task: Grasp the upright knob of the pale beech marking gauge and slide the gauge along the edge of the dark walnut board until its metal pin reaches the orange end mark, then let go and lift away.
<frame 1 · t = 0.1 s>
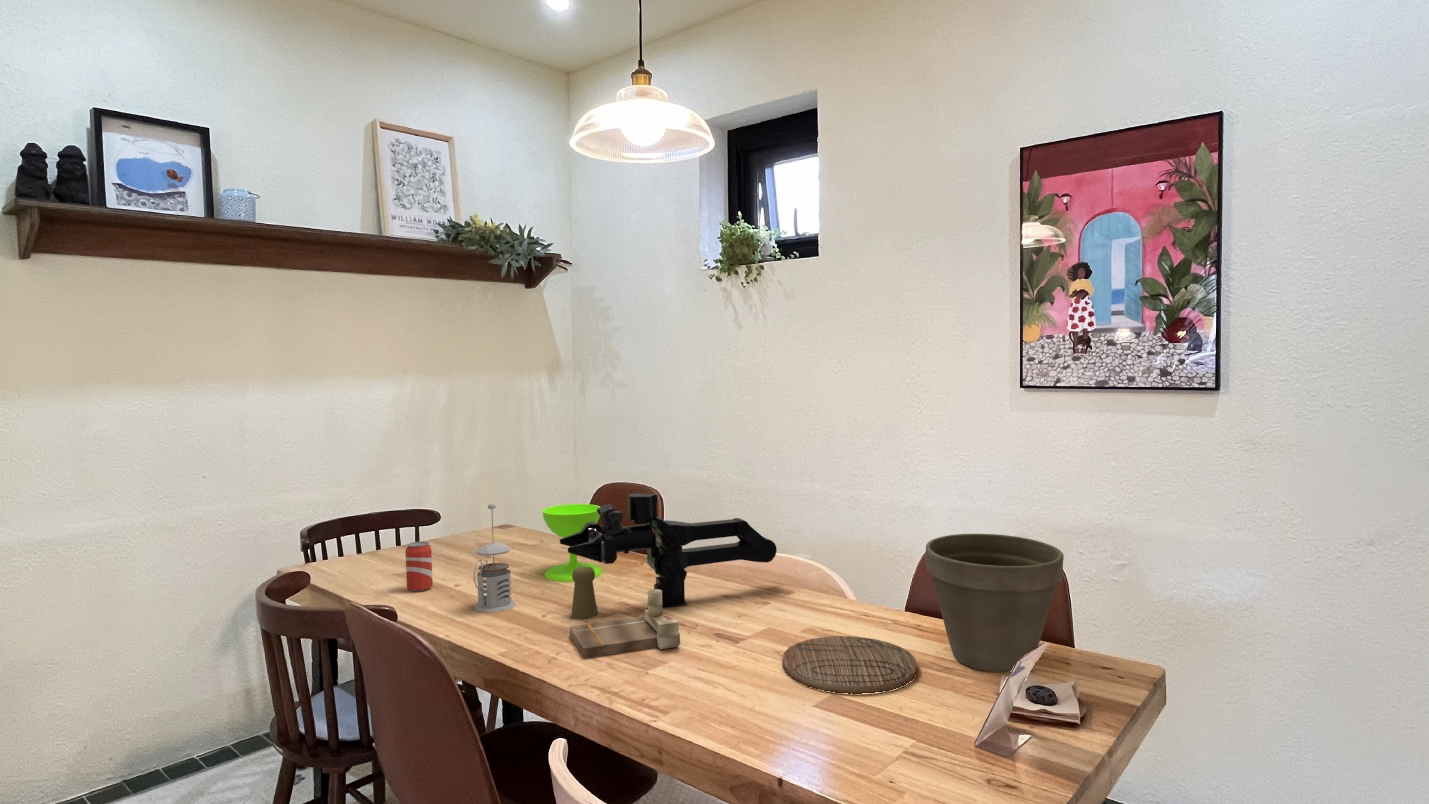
hand: (563, 545, 180), 17 cm above the table, tool horizontal, fingers open, 9 cm apart
wineglass: (573, 574, 218), on the table
trivet: (848, 670, 148), on the table
beverage can: (419, 589, 205), on the table
plant pot: (992, 660, 151), on the table
board: (623, 639, 165), on the table
french press: (492, 607, 189), on the table
cork: (584, 615, 182), on the table
gauge: (659, 616, 165), point 5 cm above the table, slide at 0.0 cm
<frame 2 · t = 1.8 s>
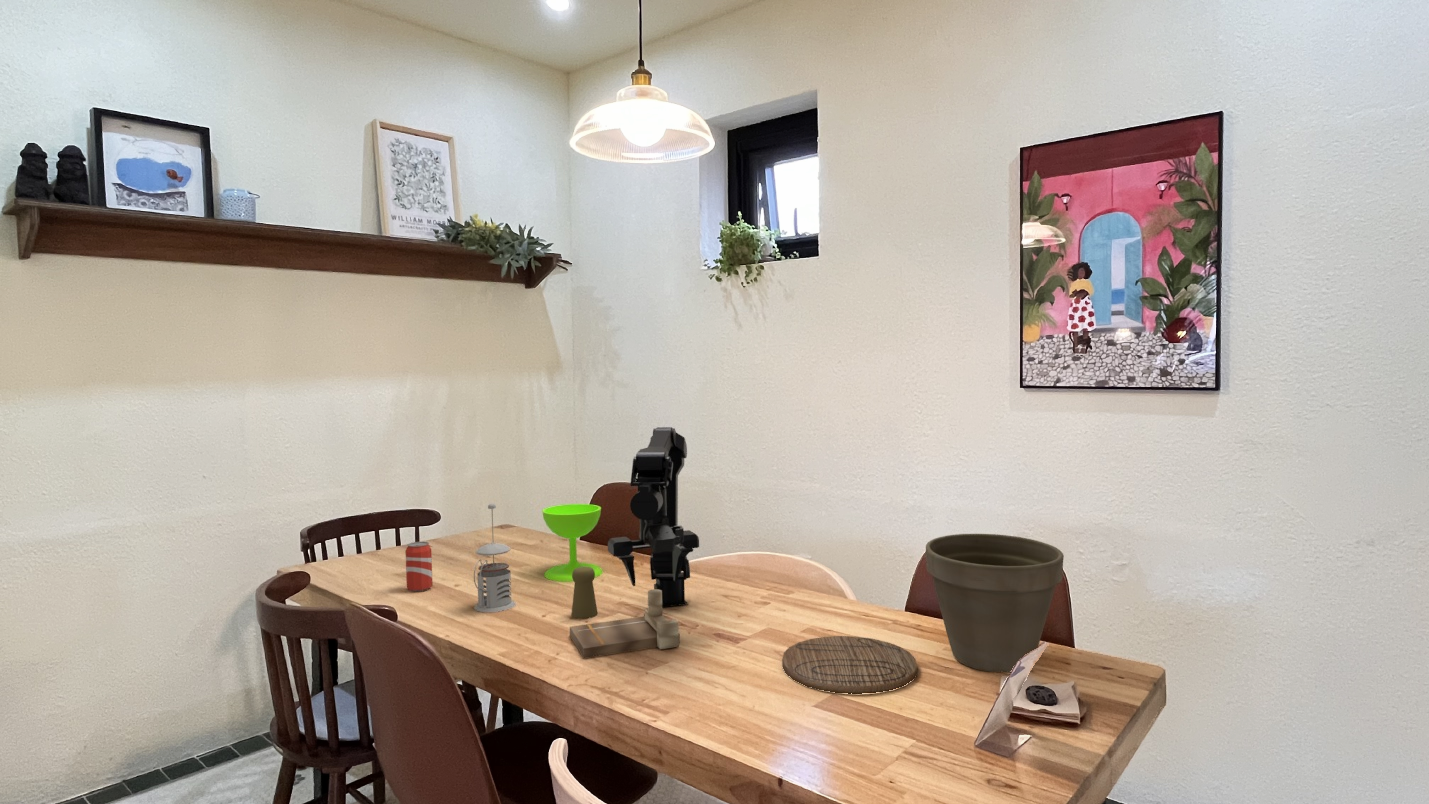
hand: (654, 583, 167), 11 cm above the table, tool pointing down, fingers open, 9 cm apart
nothing on the table moved.
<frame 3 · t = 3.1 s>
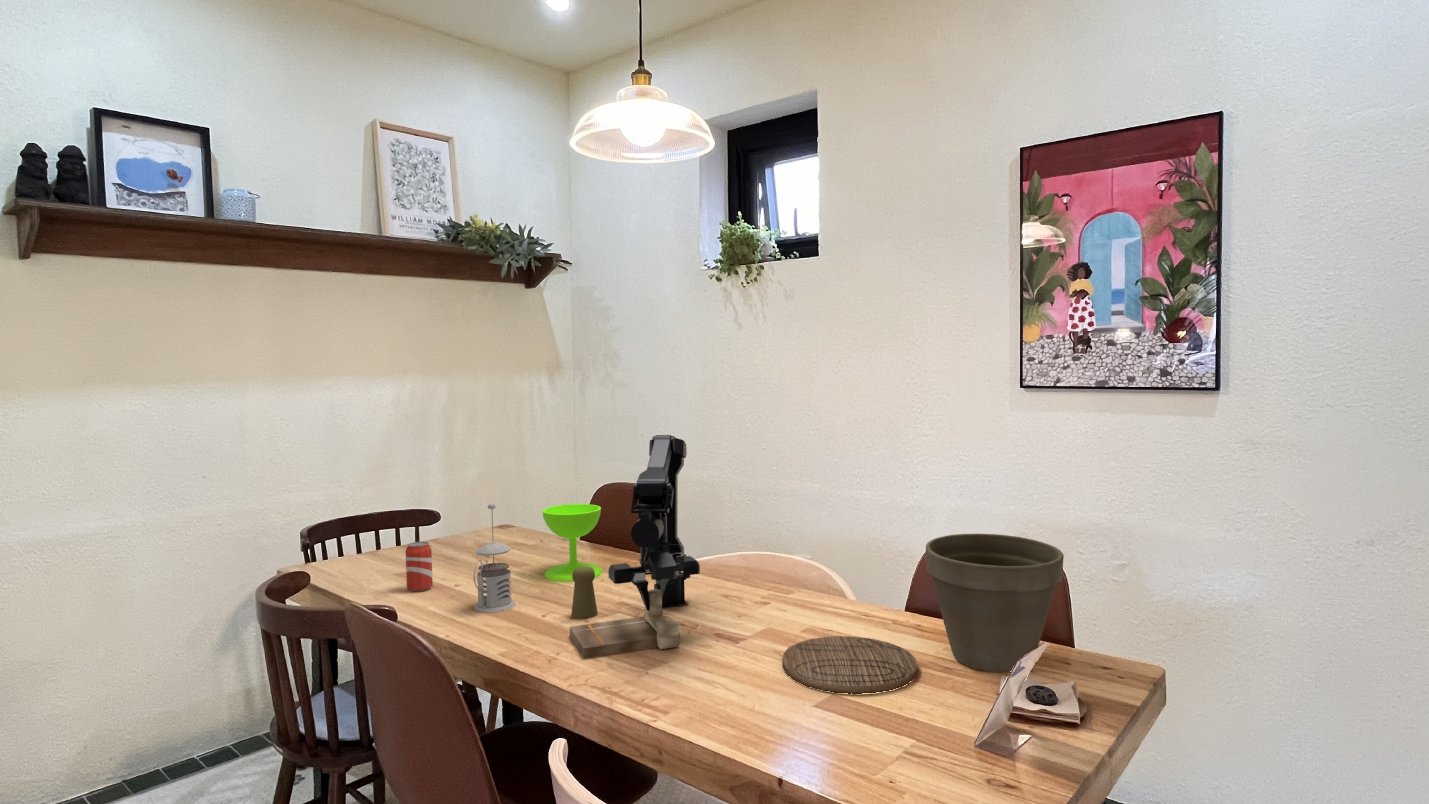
hand: (655, 609, 167), 6 cm above the table, tool pointing down, fingers closed on gauge, 3 cm apart
gauge: (659, 616, 165), point 5 cm above the table, slide at 0.0 cm, touching gripper
everything else where it was.
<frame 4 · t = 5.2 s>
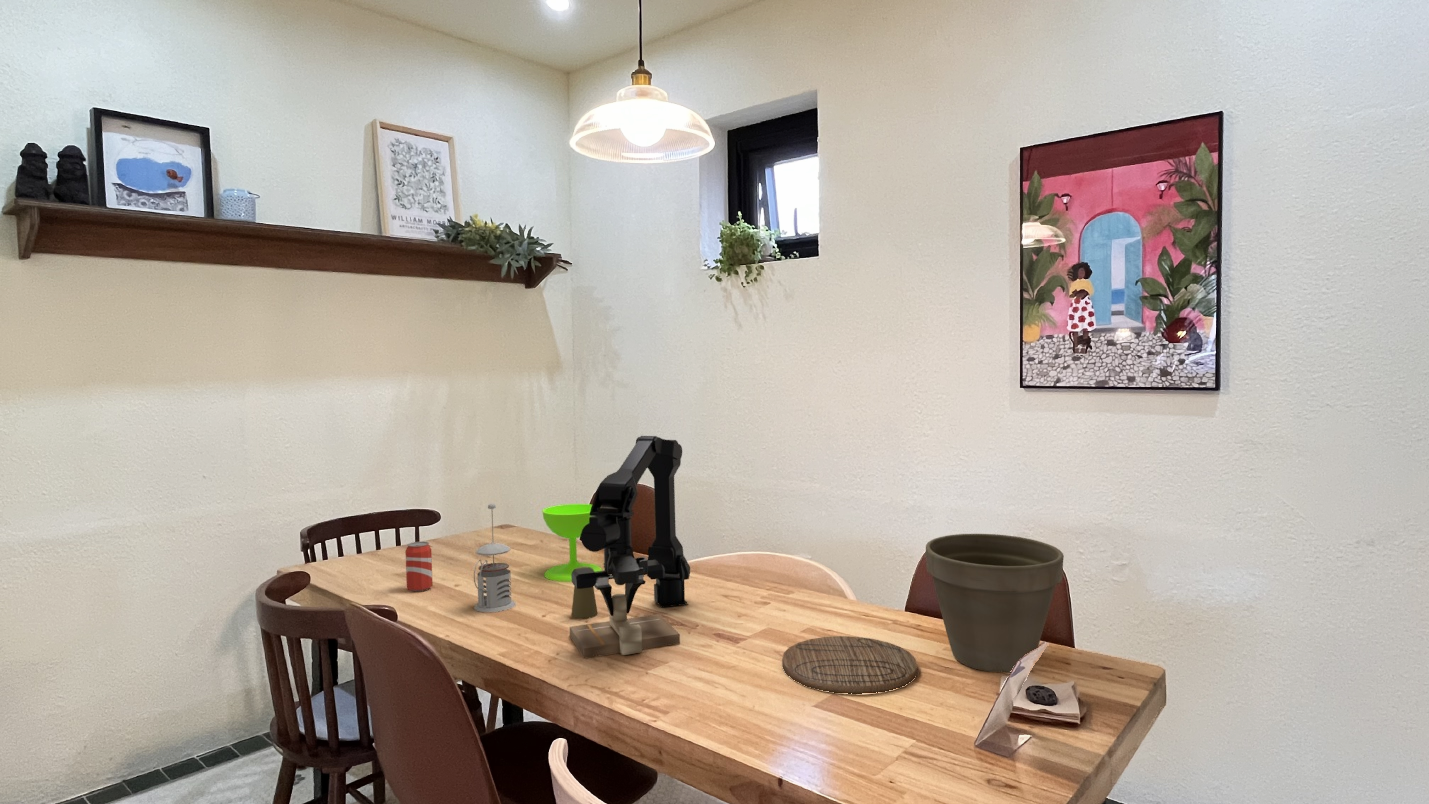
hand: (619, 614, 164), 6 cm above the table, tool pointing down, fingers closed on gauge, 3 cm apart
gauge: (622, 621, 162), point 5 cm above the table, slide at 7.8 cm, touching gripper
everything else where it was.
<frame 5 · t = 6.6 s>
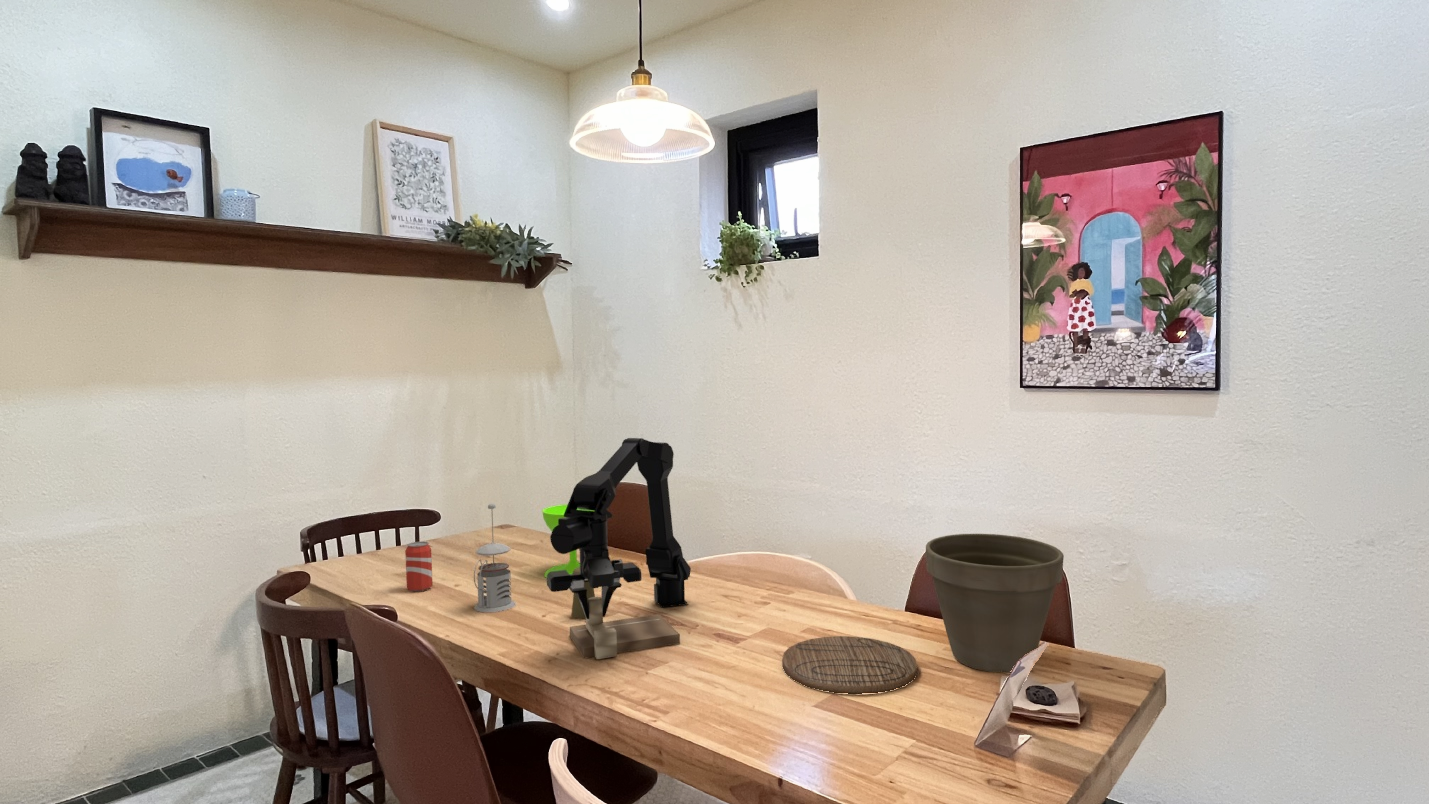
hand: (595, 617, 163), 6 cm above the table, tool pointing down, fingers closed on gauge, 3 cm apart
gauge: (598, 624, 160), point 5 cm above the table, slide at 12.9 cm, touching gripper
everything else where it was.
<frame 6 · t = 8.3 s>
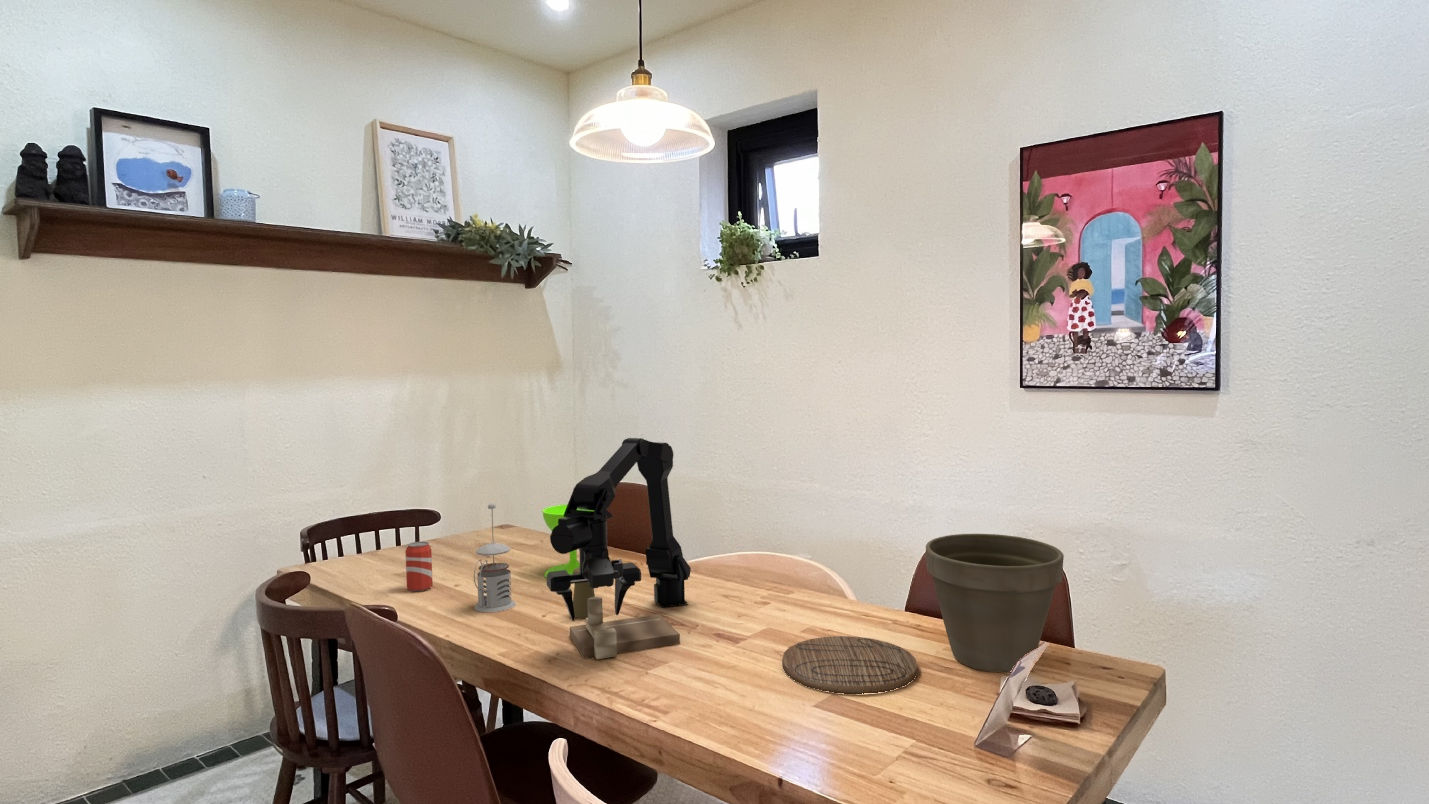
hand: (595, 617, 163), 6 cm above the table, tool pointing down, fingers open, 9 cm apart
gauge: (598, 624, 160), point 5 cm above the table, slide at 12.9 cm
everything else where it was.
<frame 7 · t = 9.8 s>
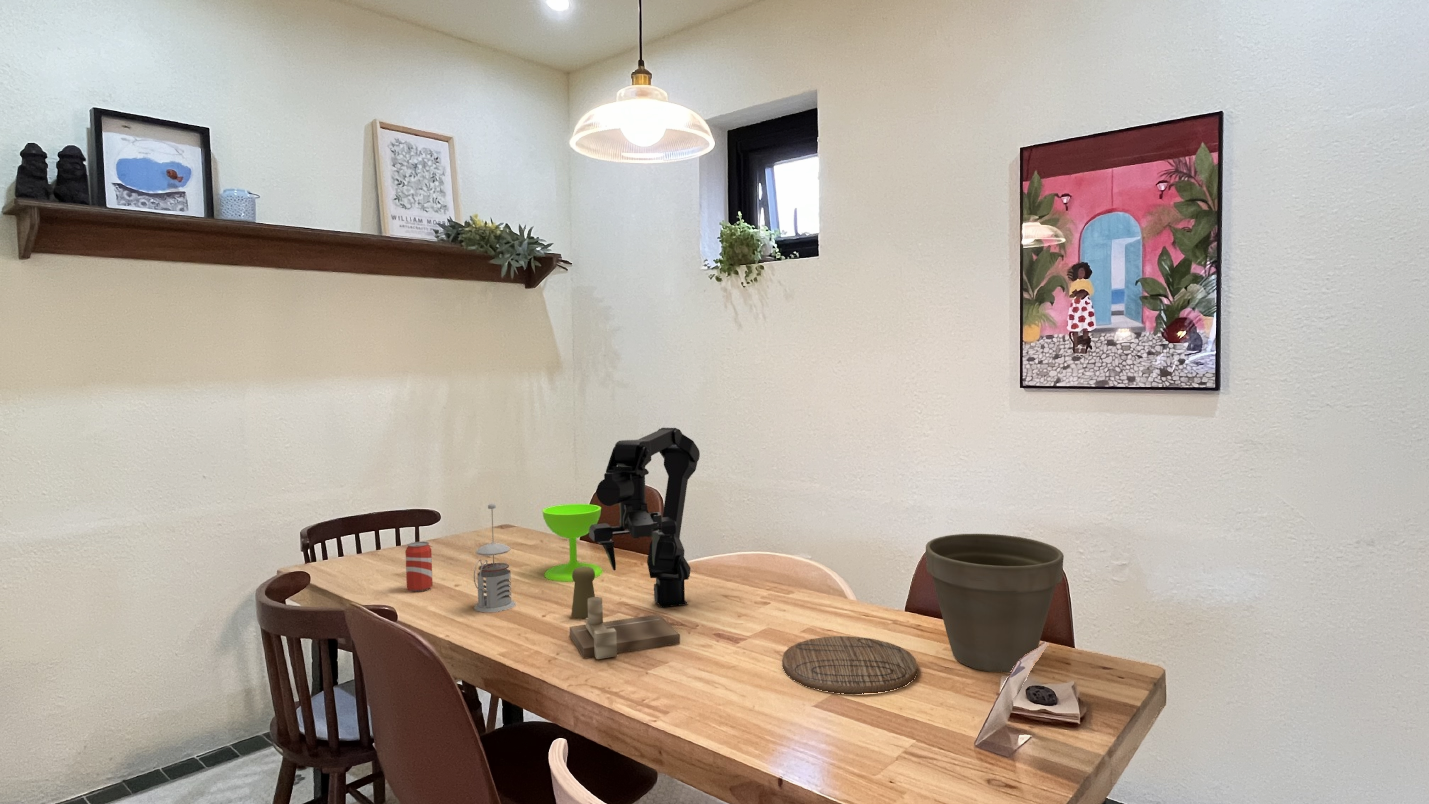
hand: (634, 567, 174), 13 cm above the table, tool pointing down, fingers open, 9 cm apart
nothing on the table moved.
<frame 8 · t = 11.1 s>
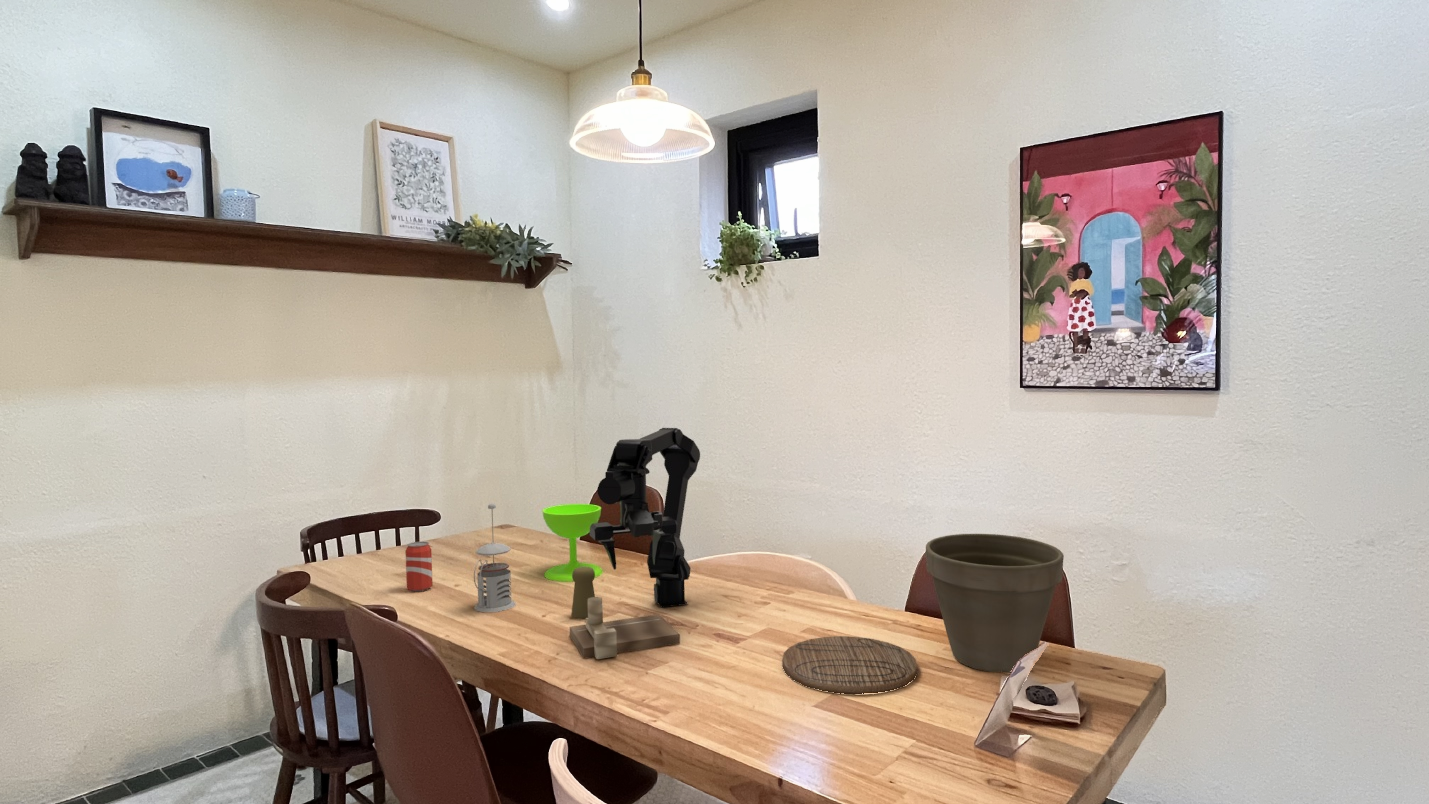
hand: (634, 566, 174), 13 cm above the table, tool pointing down, fingers open, 9 cm apart
nothing on the table moved.
at the end: gauge slide at 12.9 cm; the gripper is holding nothing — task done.
